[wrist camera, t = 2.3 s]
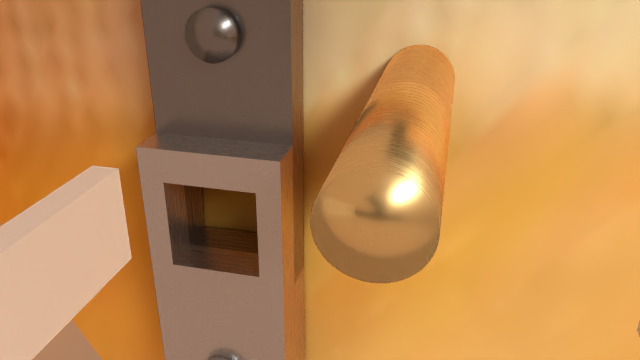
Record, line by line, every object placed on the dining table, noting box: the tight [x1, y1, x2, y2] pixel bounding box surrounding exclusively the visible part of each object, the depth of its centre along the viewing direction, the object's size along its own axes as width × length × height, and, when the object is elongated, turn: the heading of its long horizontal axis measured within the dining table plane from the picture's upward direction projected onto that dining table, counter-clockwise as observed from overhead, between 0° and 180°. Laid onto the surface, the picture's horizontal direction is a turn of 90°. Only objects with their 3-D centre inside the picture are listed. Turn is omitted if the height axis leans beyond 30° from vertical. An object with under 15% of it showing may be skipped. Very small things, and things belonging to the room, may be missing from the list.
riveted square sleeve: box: [136, 0, 305, 360], centre depth 29 cm, size 24×7×5 cm, turn 0°
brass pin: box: [310, 45, 455, 283], centre depth 20 cm, size 3×3×14 cm
